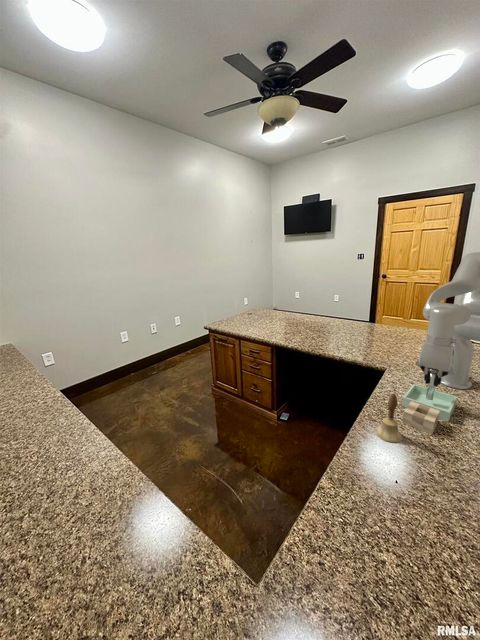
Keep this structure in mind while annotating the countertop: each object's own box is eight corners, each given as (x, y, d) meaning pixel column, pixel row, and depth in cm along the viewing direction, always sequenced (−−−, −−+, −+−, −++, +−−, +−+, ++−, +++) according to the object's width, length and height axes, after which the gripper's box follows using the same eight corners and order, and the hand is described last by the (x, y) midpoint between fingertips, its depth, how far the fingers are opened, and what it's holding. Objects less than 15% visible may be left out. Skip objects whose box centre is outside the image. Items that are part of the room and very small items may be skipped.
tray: (412, 392, 113) (413, 384, 112) (455, 405, 103) (457, 396, 101) (401, 405, 104) (402, 397, 103) (448, 422, 94) (449, 412, 93)
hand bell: (404, 433, 90) (410, 392, 85) (399, 446, 84) (404, 404, 80) (379, 423, 95) (382, 385, 91) (371, 435, 89) (375, 395, 85)
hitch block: (409, 412, 100) (411, 400, 99) (438, 422, 94) (440, 410, 92) (402, 423, 95) (403, 411, 93) (431, 434, 88) (433, 422, 87)
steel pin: (425, 394, 105) (429, 365, 102) (436, 398, 102) (441, 368, 99) (422, 398, 103) (427, 368, 99) (434, 402, 100) (439, 371, 96)
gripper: (468, 342, 93) (460, 387, 97) (416, 333, 104) (411, 374, 109) (465, 347, 88) (456, 395, 93) (411, 338, 99) (405, 380, 104)
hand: (431, 383), depth 101 cm, fingers closed on steel pin, 2 cm apart
